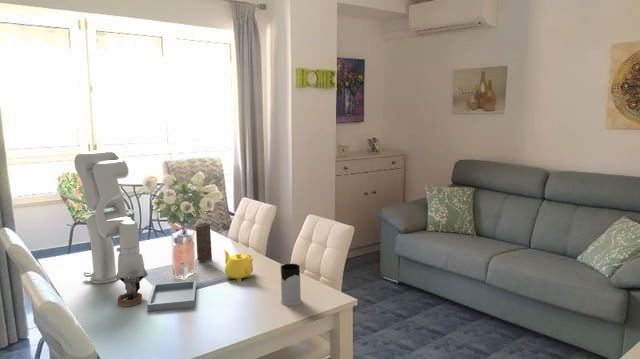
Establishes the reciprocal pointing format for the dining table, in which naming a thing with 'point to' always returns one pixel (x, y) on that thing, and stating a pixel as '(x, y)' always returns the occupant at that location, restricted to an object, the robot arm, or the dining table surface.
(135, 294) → the ring
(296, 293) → the glass holder
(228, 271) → the teapot
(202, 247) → the candle
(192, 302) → the tray
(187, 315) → the dining table surface
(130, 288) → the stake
